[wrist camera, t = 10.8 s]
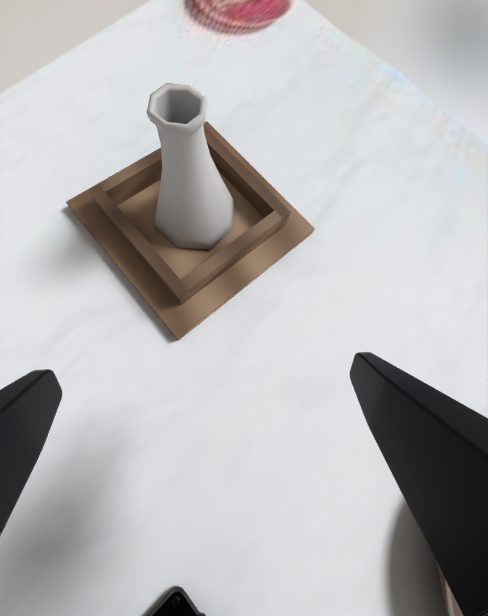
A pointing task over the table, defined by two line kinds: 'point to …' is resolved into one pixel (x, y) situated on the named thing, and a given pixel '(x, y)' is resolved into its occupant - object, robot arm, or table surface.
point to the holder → (188, 261)
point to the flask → (188, 172)
